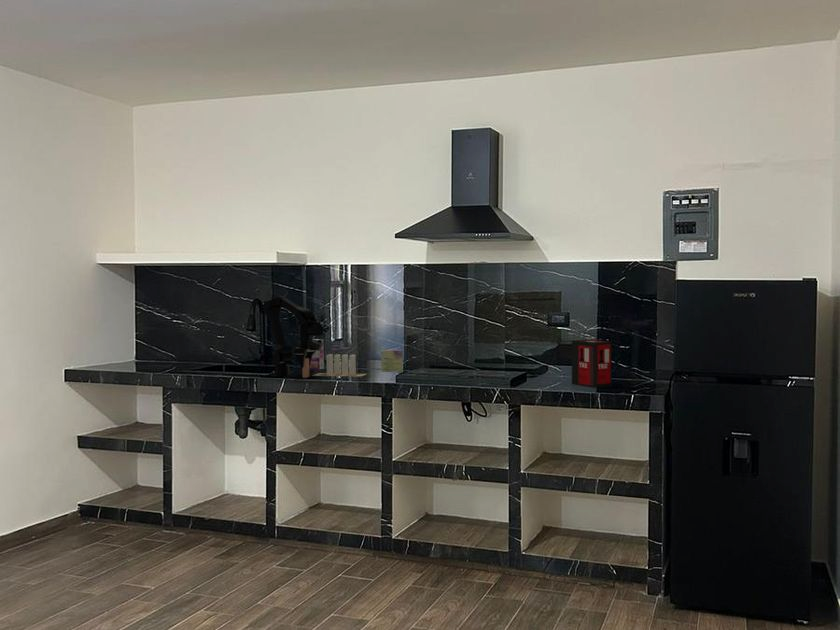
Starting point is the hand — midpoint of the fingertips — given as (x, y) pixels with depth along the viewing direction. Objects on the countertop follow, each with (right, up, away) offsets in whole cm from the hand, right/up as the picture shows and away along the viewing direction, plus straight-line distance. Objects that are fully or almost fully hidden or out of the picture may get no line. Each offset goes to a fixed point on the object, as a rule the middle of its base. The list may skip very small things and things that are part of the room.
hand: (305, 366), depth 405 cm
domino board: (+16, -6, +7) cm, 18 cm away
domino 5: (+23, -5, +5) cm, 24 cm away
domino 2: (+11, -5, +8) cm, 14 cm away
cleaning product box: (+134, -7, -33) cm, 138 cm away
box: (+42, -5, +21) cm, 47 cm away
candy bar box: (-1, -4, +39) cm, 40 cm away
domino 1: (0, -6, 0) cm, 6 cm away
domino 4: (+19, -5, +6) cm, 20 cm away
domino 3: (+15, -5, +7) cm, 17 cm away
